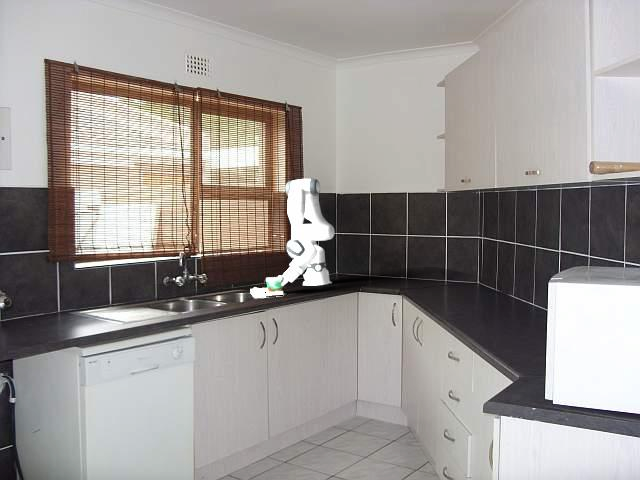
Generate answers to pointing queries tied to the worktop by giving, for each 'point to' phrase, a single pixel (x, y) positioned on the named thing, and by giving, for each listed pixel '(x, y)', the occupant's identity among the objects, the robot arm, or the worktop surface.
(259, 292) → the white cutting board
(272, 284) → the food container
